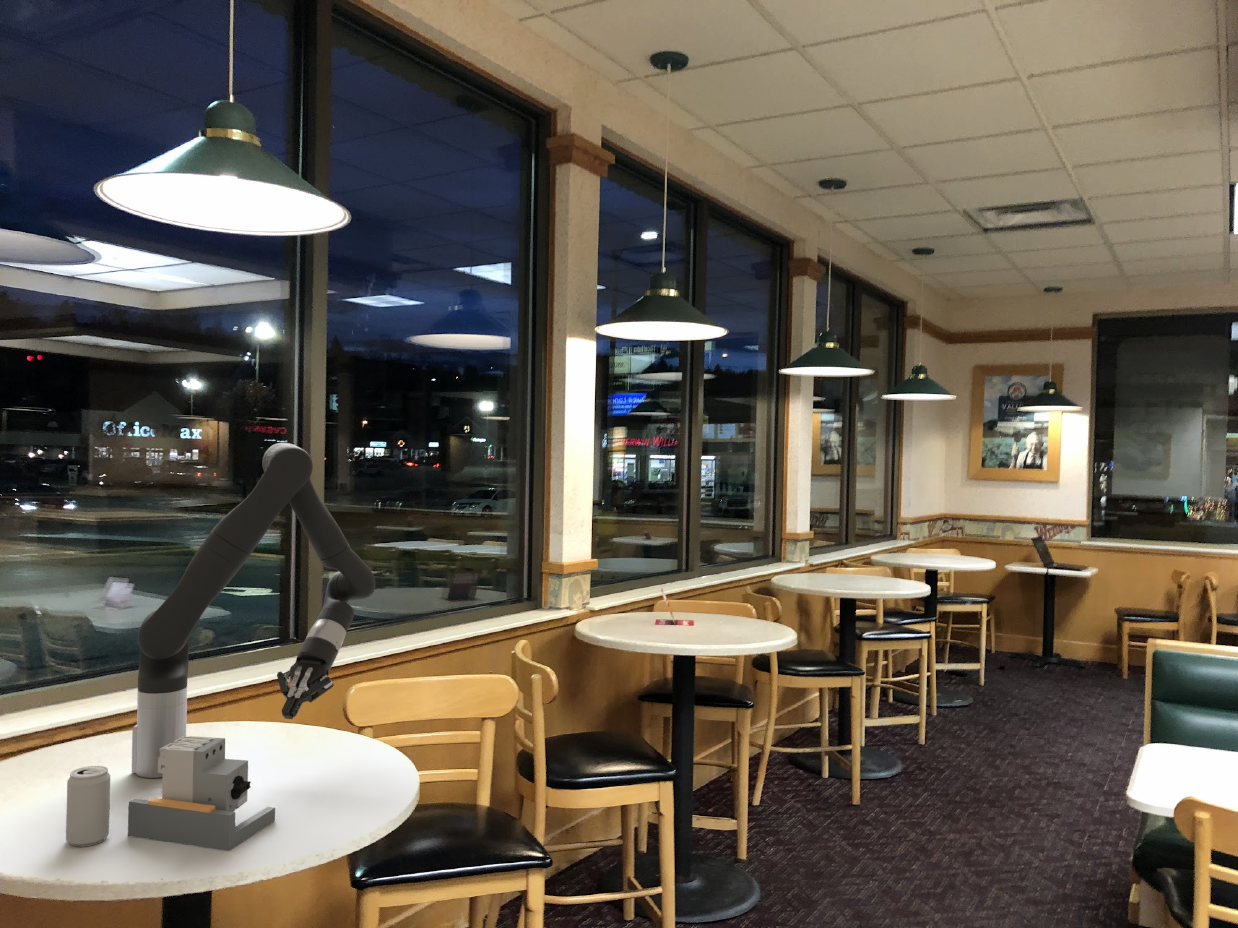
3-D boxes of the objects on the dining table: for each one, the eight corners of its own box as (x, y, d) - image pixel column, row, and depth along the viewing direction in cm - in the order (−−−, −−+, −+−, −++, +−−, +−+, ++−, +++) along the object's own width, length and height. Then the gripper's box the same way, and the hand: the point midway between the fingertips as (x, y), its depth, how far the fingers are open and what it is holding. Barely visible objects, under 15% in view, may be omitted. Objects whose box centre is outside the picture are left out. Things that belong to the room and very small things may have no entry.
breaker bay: (127, 835, 161) (128, 798, 161) (179, 808, 173) (180, 772, 173) (228, 850, 156) (229, 811, 156) (274, 821, 169) (275, 785, 169)
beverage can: (77, 832, 161) (78, 764, 161) (115, 832, 162) (117, 764, 162) (58, 848, 155) (59, 777, 155) (98, 848, 156) (99, 777, 155)
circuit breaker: (234, 839, 160) (236, 753, 160) (156, 834, 162) (158, 748, 162) (255, 822, 168) (257, 740, 168) (180, 817, 169) (182, 735, 169)
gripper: (288, 632, 200) (250, 703, 188) (343, 637, 196) (308, 710, 185) (301, 652, 205) (265, 722, 193) (355, 657, 202) (322, 729, 190)
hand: (286, 716), depth 189 cm, fingers closed
